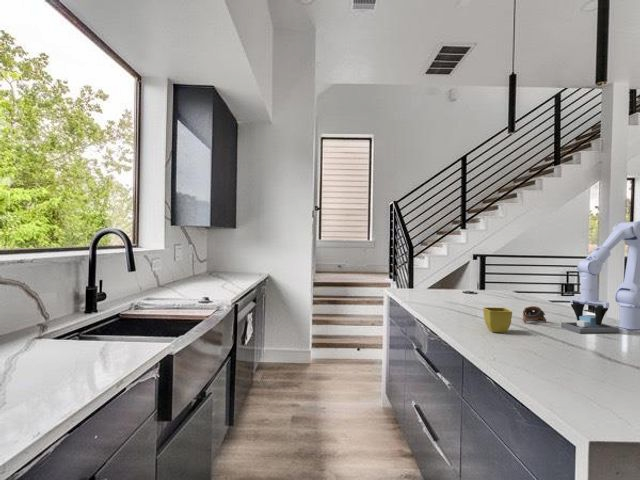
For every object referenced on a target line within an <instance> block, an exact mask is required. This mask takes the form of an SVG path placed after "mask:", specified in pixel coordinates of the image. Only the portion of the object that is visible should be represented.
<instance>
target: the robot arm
mask: <svg viewBox="0 0 640 480" xmlns="http://www.w3.org/2000/svg"><path fill="white" fill-rule="evenodd" d="M611 229H612V230H611V231H612V232H611V233H610V234H609V236H608V237H607V238H606V240H605V241H604V242H603V243H602V245H600V246H596V247H593V250H592V251H591V252H590V254H588V255H587V256H586V258H585V259H582V260H580V261H579V262H578V264H577V266H576V270H577V272H578V273H579V274H578V276H579V278H580V298H577V297H570V300H569V303H571V304H570V306H571V308H572V309H573V311H574V314H575V317H576V322H577V321H578V320H579V316H584V314H583V313H584V308H585V305H586V306H593V310H594V314H595V316H596V325H601V323H603V319H604V317H605V315H606V313H607V312H608V311H609V308H610V302H608V301H607V302H606V301H602V300H598V299H599V298H598V293H599V292H598V288H599V287H598V274H600V273H601V272H602V267H603V264H604V263H605V262H606V261H607V260H608V258H610V256H611V251H612V250H613V249H614V248H615V247H616V246H617V245H618V244H619V243H620V242H621V241H624V242H625V243H627V244H628V245H629V246H628V252H627V259H626V266H625V272H624V278H623V279H624V280H623V282H622V283H620V284H618V285H617V289H616V291H615V292H614V301H615V302H616V303H617V305H618V306H619V323H618V324H616V323H615V324H614V327H617V328H621V329H626V330H630V331H632V330H640V220H638V221H618V222H616V223H615V224H614V226H612V227H611Z"/></svg>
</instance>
